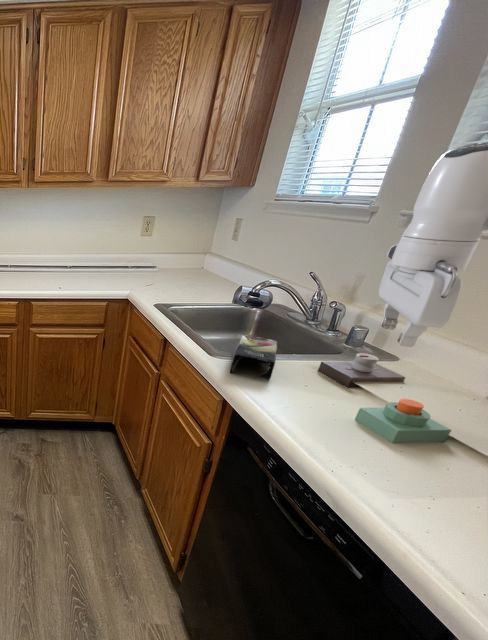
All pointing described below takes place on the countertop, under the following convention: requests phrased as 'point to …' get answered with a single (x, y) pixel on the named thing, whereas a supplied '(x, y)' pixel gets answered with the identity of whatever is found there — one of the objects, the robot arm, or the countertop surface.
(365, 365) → the lock knob
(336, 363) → the panel
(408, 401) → the orange button cap
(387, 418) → the green stepped block
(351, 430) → the countertop surface
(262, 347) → the dark boxy piece
